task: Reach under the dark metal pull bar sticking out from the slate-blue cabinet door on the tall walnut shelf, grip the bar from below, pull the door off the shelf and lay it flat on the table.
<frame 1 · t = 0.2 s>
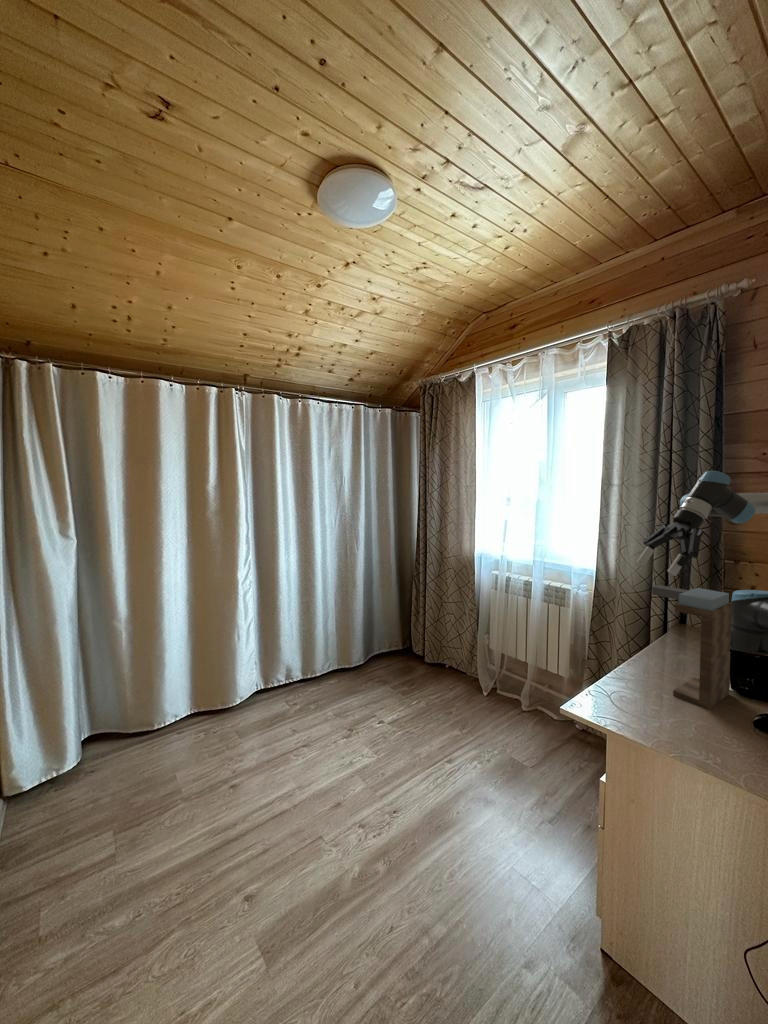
hand: (654, 568, 130), 36 cm above the table, tool tilted 35°, fingers open, 13 cm apart
shelf stand: (700, 694, 120), on the table
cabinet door: (703, 603, 118), point 28 cm above the table, touching shelf stand
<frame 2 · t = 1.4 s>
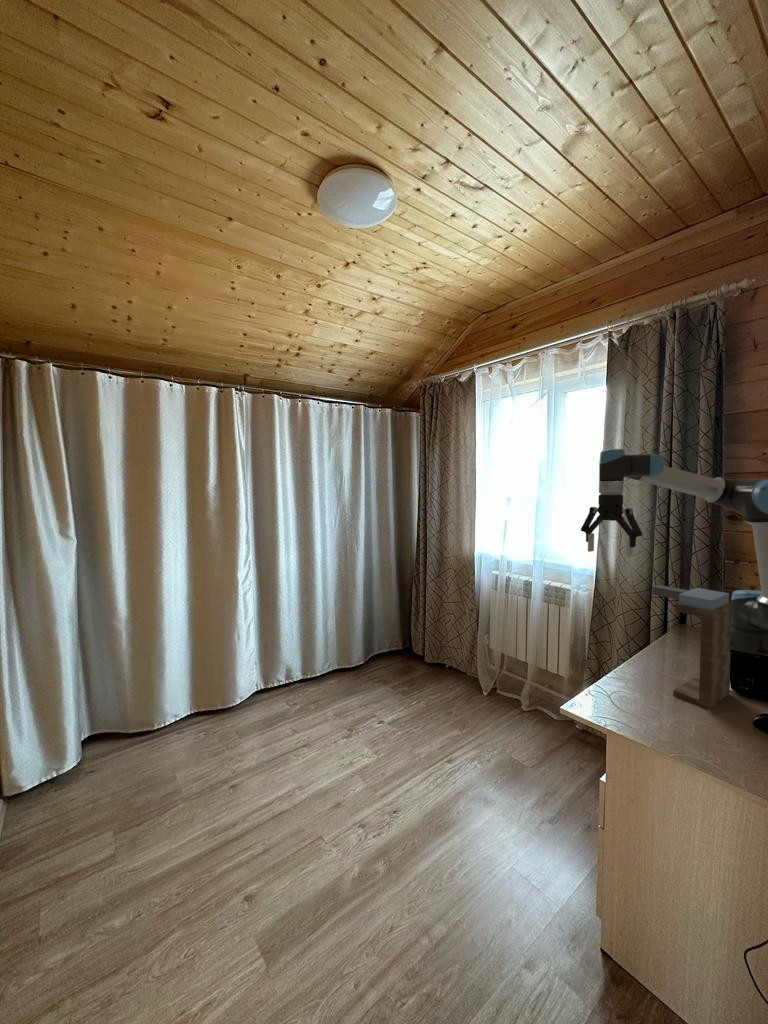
hand: (609, 553, 141), 39 cm above the table, tool pointing down, fingers open, 13 cm apart
nothing on the table moved.
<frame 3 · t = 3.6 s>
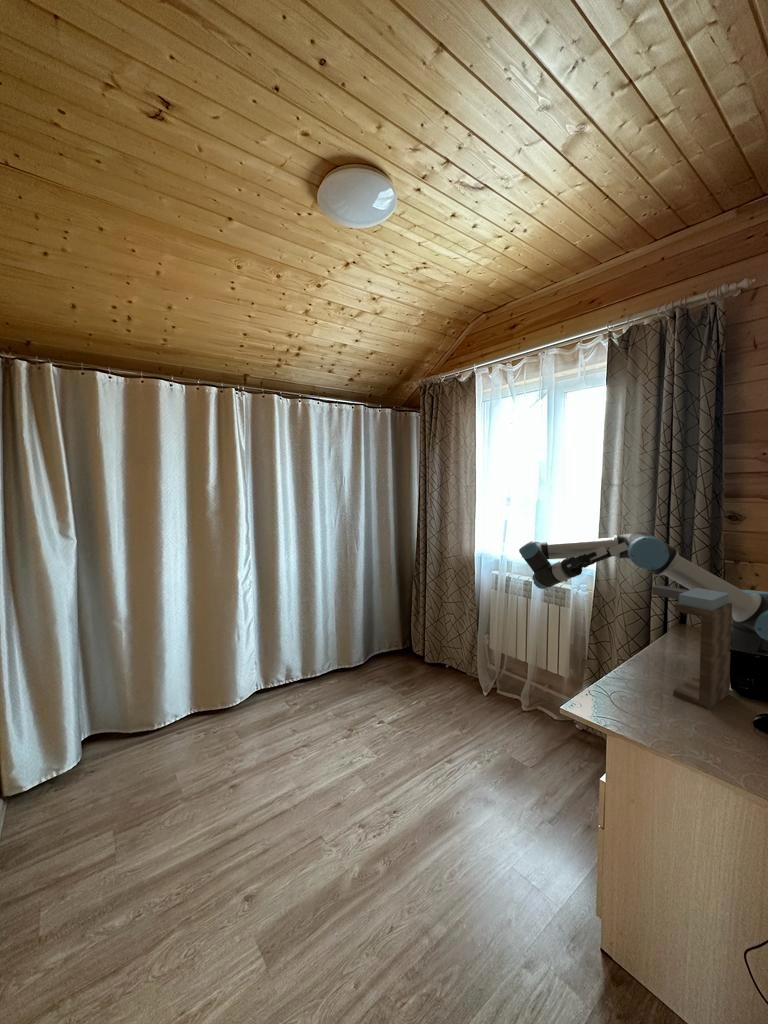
hand: (616, 547, 139), 42 cm above the table, tool pointing upward, fingers open, 13 cm apart
nothing on the table moved.
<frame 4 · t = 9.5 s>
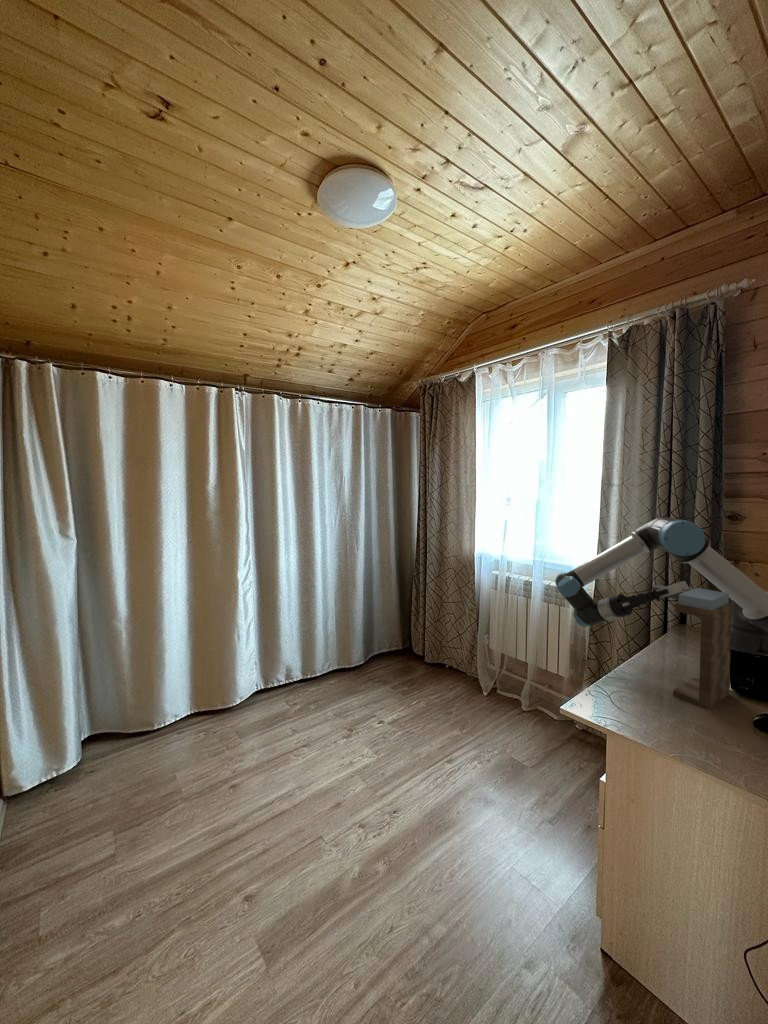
hand: (683, 586, 123), 32 cm above the table, tool pointing upward, fingers closed on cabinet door, 4 cm apart
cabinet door: (703, 603, 118), point 28 cm above the table, touching gripper, shelf stand
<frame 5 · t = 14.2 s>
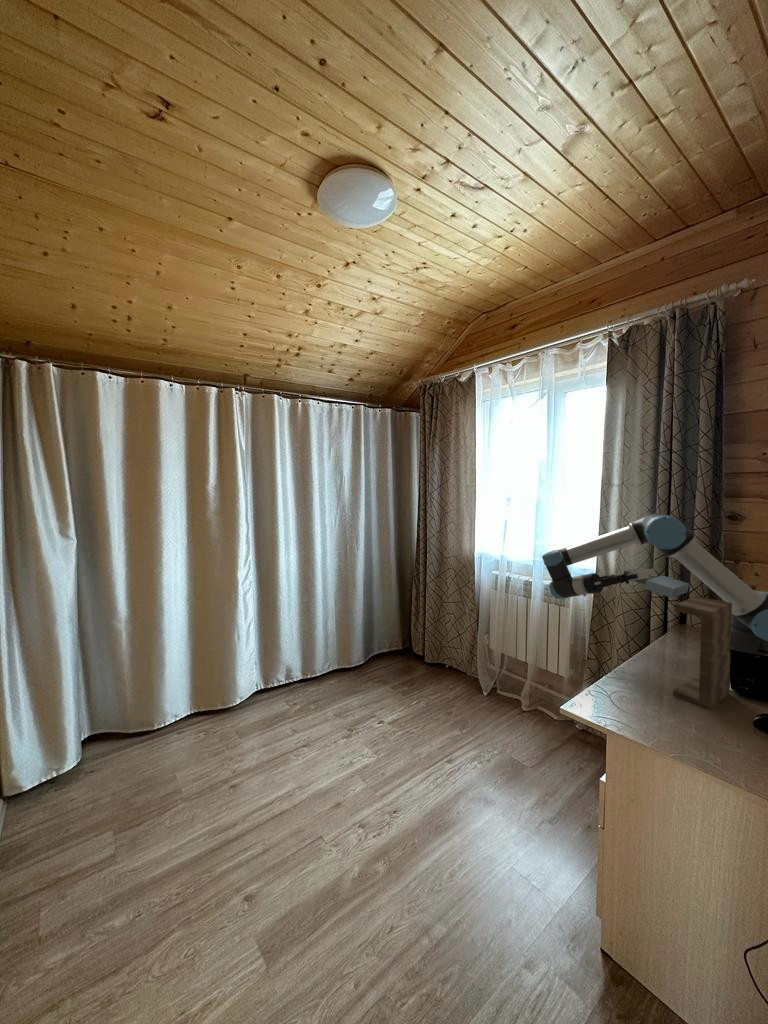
hand: (651, 573, 136), 33 cm above the table, tool pointing upward, fingers closed on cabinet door, 4 cm apart
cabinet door: (665, 590, 133), point 28 cm above the table, tilted 10°, touching gripper
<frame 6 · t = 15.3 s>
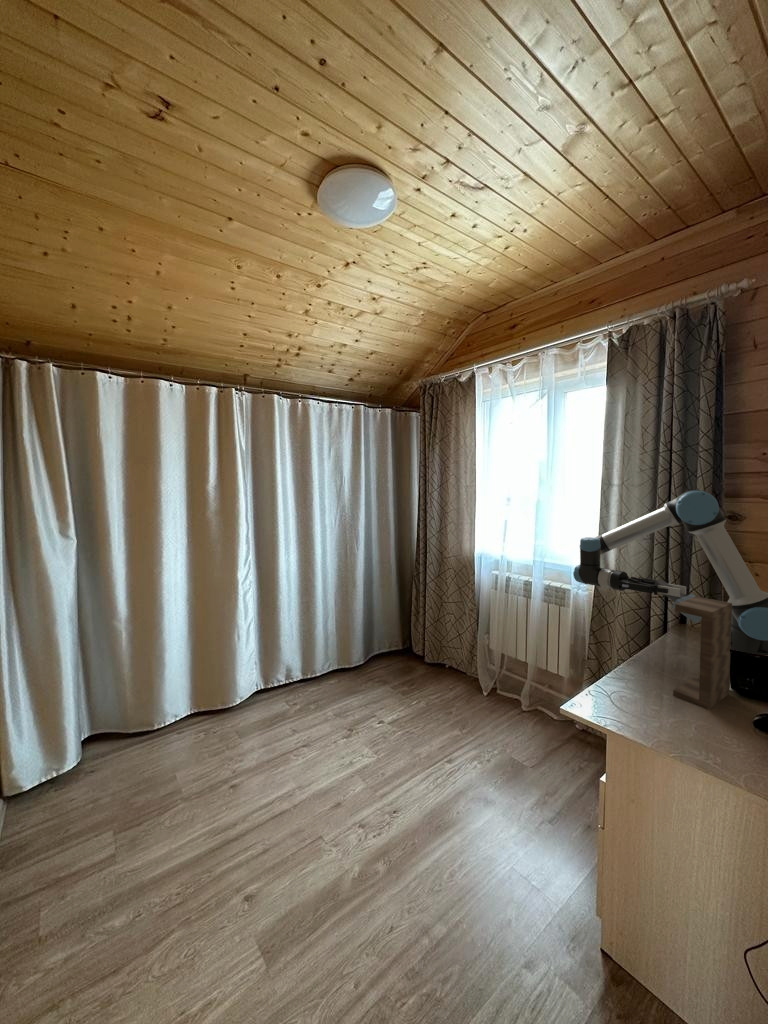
hand: (682, 591, 138), 26 cm above the table, tool horizontal, fingers closed on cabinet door, 4 cm apart
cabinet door: (690, 611, 136), point 20 cm above the table, tilted 29°, touching gripper
when the fingers open (9 cm above the table, at t = 18.9 s): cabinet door drops 4 cm, on the table.
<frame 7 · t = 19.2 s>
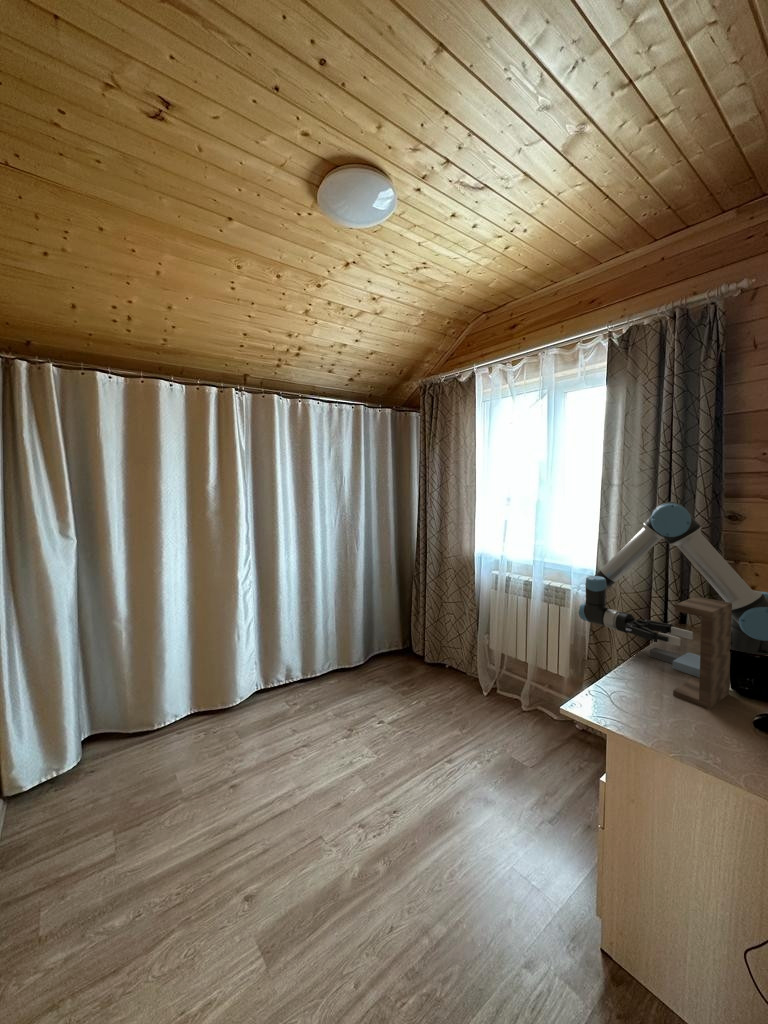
hand: (686, 638, 138), 9 cm above the table, tool horizontal, fingers open, 9 cm apart
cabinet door: (693, 669, 137), on the table
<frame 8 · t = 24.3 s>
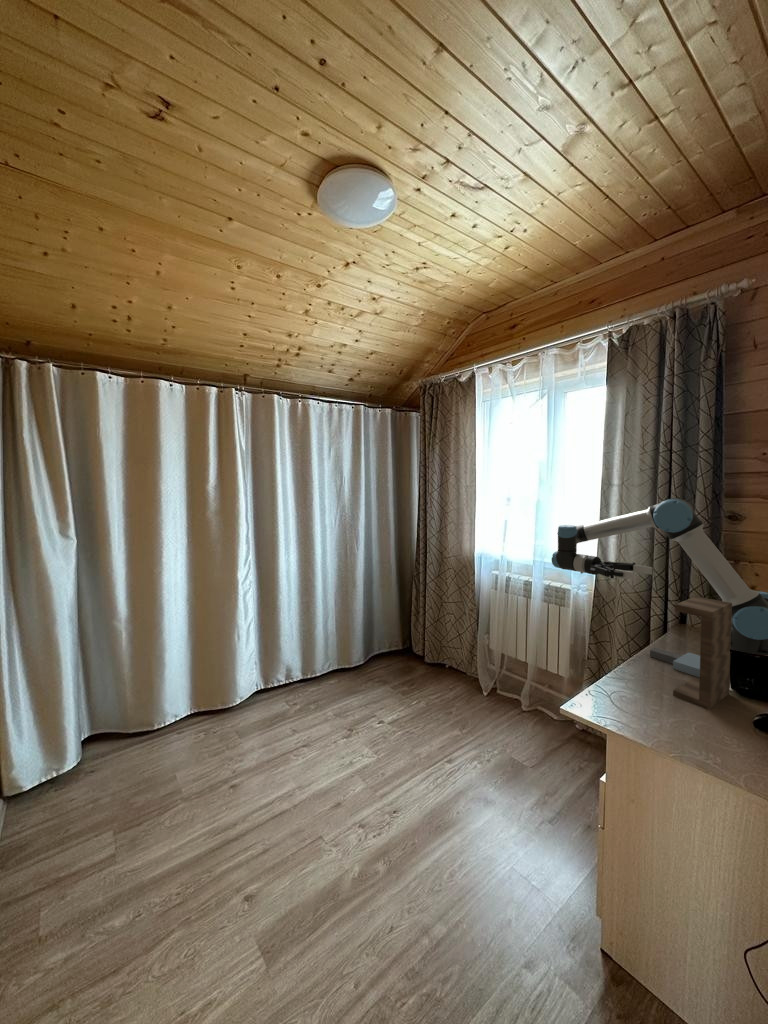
hand: (643, 573, 149), 30 cm above the table, tool horizontal, fingers open, 13 cm apart
nothing on the table moved.
at the end: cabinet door inside the target area (2.8 cm from its centre), on the table; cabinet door touching table; the gripper is holding nothing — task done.
